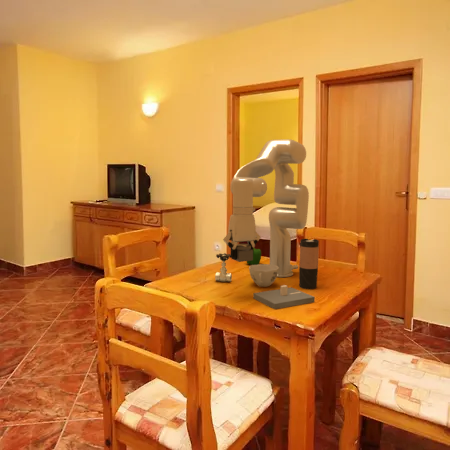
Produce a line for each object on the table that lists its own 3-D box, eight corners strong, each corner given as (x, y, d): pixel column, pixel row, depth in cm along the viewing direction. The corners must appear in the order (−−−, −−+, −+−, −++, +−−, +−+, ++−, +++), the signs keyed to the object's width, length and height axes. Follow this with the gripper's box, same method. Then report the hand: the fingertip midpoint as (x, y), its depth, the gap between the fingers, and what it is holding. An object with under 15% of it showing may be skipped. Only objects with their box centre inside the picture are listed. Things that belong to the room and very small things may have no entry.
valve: (229, 284, 176) (229, 256, 174) (214, 283, 177) (214, 255, 176) (232, 280, 182) (232, 253, 181) (217, 279, 184) (218, 253, 182)
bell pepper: (264, 264, 215) (264, 245, 213) (255, 266, 208) (256, 247, 207) (251, 261, 220) (251, 243, 218) (242, 264, 213) (242, 245, 212)
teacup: (252, 280, 183) (252, 262, 182) (280, 282, 180) (281, 264, 178) (244, 289, 169) (244, 270, 168) (274, 292, 165) (274, 272, 164)
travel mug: (306, 290, 168) (308, 242, 165) (294, 285, 175) (296, 239, 172) (321, 288, 171) (323, 240, 169) (309, 283, 178) (311, 238, 176)
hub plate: (291, 292, 165) (291, 278, 164) (314, 302, 153) (315, 287, 152) (253, 298, 157) (253, 284, 156) (274, 309, 144) (275, 294, 144)
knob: (230, 258, 158) (230, 244, 158) (245, 257, 161) (245, 242, 161) (239, 262, 153) (239, 247, 152) (254, 260, 156) (254, 245, 155)
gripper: (256, 209, 162) (255, 254, 164) (217, 211, 154) (217, 258, 156) (267, 211, 155) (266, 257, 158) (227, 213, 147) (226, 262, 150)
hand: (242, 257), depth 157 cm, fingers closed on knob, 6 cm apart
